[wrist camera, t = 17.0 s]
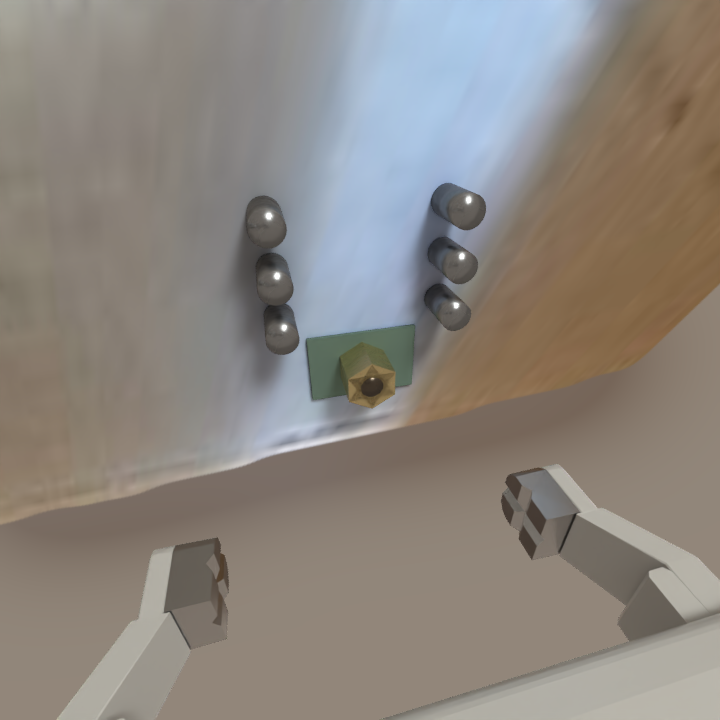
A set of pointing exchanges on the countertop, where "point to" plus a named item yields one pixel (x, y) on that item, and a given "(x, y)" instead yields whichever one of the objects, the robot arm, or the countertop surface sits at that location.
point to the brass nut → (367, 375)
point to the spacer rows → (442, 253)
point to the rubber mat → (330, 348)
